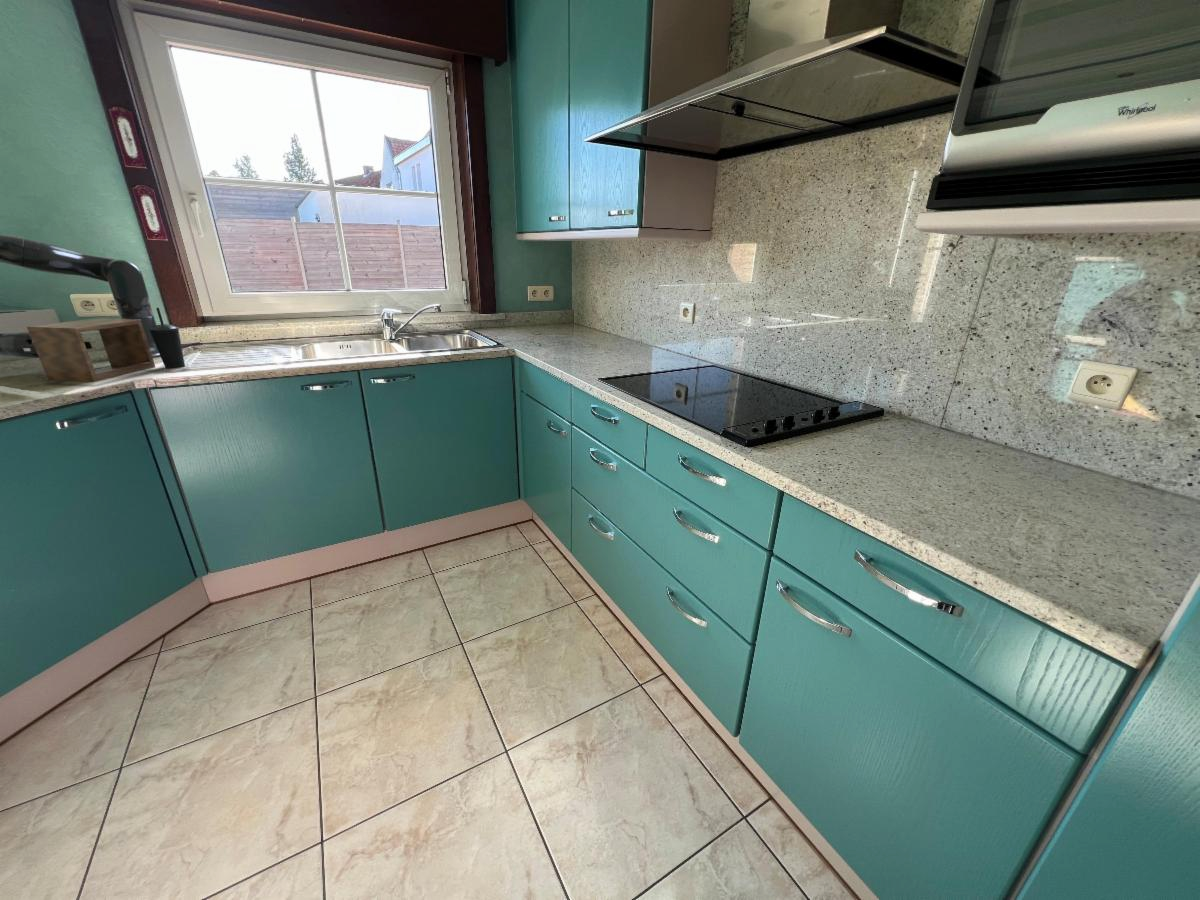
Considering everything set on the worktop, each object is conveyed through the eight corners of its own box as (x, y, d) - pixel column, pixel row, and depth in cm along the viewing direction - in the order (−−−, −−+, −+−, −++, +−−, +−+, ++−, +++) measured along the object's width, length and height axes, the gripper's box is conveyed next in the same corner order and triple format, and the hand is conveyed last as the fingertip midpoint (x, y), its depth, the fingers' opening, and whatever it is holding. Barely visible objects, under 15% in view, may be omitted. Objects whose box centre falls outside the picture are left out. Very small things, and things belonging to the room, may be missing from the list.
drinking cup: (174, 367, 165) (156, 306, 158) (196, 368, 165) (179, 307, 158) (154, 372, 158) (134, 308, 151) (177, 373, 158) (158, 309, 151)
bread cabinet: (49, 383, 143) (26, 326, 137) (115, 369, 161) (98, 318, 155) (95, 385, 142) (74, 328, 136) (156, 370, 161) (140, 319, 155)
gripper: (-7, 335, 141) (49, 338, 140) (47, 328, 154) (99, 331, 154) (4, 361, 144) (59, 364, 143) (56, 352, 157) (107, 354, 157)
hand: (80, 347), depth 148 cm, fingers closed on bottle, 5 cm apart
